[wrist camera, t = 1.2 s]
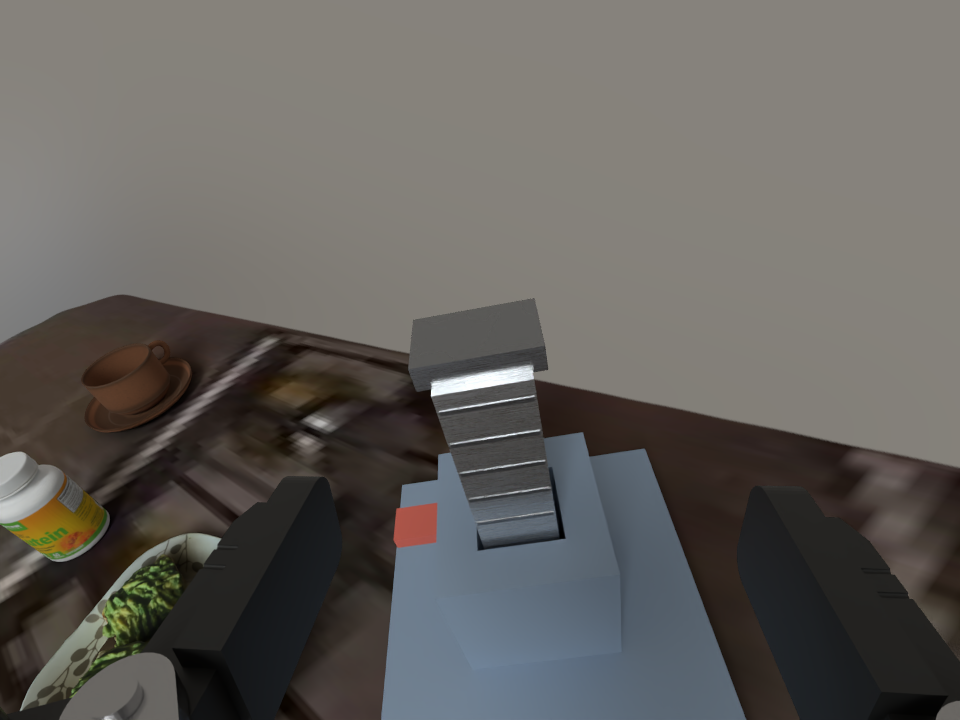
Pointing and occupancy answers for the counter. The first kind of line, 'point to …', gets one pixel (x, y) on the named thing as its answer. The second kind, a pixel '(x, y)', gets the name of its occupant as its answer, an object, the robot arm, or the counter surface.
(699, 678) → the jack stand base
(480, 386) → the jack stand column
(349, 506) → the counter surface
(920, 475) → the counter surface
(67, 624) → the counter surface
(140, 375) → the cup and saucer
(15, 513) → the supplement bottle
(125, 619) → the salad plate
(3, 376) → the counter surface
